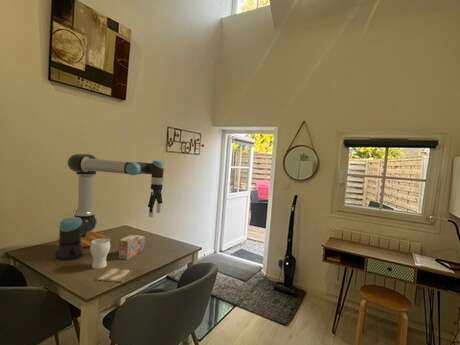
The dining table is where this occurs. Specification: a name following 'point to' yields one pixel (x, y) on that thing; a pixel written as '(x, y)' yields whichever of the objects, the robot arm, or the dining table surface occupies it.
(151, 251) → the dining table surface
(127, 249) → the stack of blocks
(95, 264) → the cup
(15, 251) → the dining table surface
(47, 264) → the dining table surface
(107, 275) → the picture frame
